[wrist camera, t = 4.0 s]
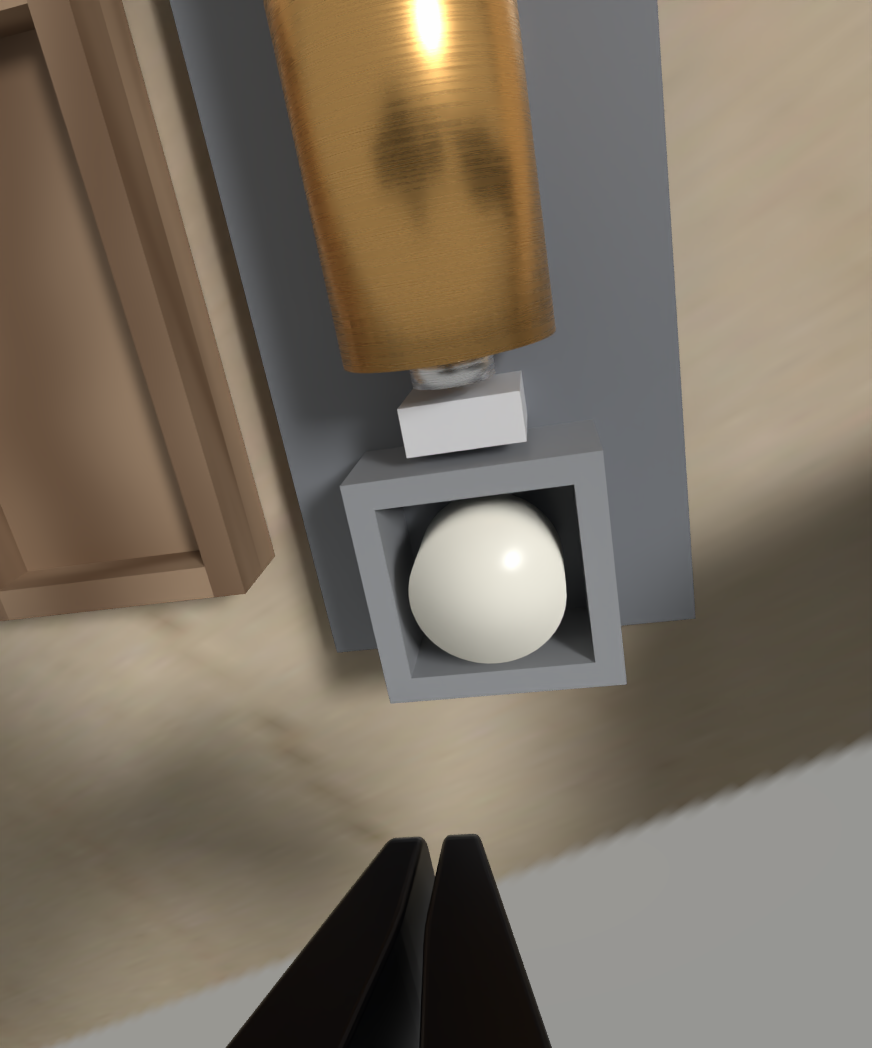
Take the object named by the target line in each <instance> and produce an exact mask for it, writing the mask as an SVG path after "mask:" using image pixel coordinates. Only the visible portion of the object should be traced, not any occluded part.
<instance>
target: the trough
mask: <svg viewBox="0 0 872 1048" xmlns="http://www.w3.org/2000/svg"><path fill="white" fill-rule="evenodd" d="M274 557H275V554H274V550H273V547H272V543H271V539H270V536H269V532H268V529H267V525H266V521H265V518H264V514H263V510H262V507H261V503H260V500H259V496H258V492H257V489H256V485H255V482H254V478H253V474H252V471H251V467H250V463H249V460H248V456H247V453H246V449H245V445H244V442H243V438H242V434H241V431H240V427H239V424H238V420H237V416H236V413H235V409H234V406H233V402H232V398H231V395H230V391H229V387H228V384H227V380H226V377H225V373H224V369H223V366H222V362H221V358H220V355H219V351H218V348H217V344H216V340H215V337H214V333H213V330H212V326H211V322H210V319H209V315H208V311H207V308H206V304H205V301H204V297H203V293H202V290H201V286H200V282H199V279H198V275H197V272H196V268H195V264H194V261H193V257H192V254H191V250H190V246H189V243H188V239H187V235H186V232H185V228H184V225H183V221H182V217H181V214H180V210H179V206H178V203H177V199H176V196H175V192H174V188H173V185H172V181H171V177H170V174H169V170H168V167H167V163H166V159H165V156H164V152H163V149H162V145H161V141H160V138H159V134H158V130H157V127H156V123H155V120H154V116H153V112H152V109H151V105H150V101H149V98H148V94H147V91H146V87H145V83H144V80H143V76H142V73H141V69H140V65H139V62H138V58H137V54H136V51H135V47H134V44H133V40H132V36H131V33H130V29H129V25H128V22H127V18H126V15H125V11H124V7H123V4H122V0H0V621H6V620H15V619H24V618H33V617H42V616H51V615H60V614H69V613H78V612H86V611H95V610H104V609H113V608H122V607H131V606H140V605H149V604H158V603H167V602H176V601H185V600H194V599H203V598H212V597H220V596H229V595H238V594H245V593H246V592H247V591H248V590H249V588H250V587H251V586H252V585H253V583H254V582H255V581H256V580H257V578H258V577H259V576H260V575H261V573H262V572H263V571H264V569H265V568H266V567H267V566H268V564H269V563H270V562H271V561H272V559H273V558H274Z"/></svg>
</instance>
